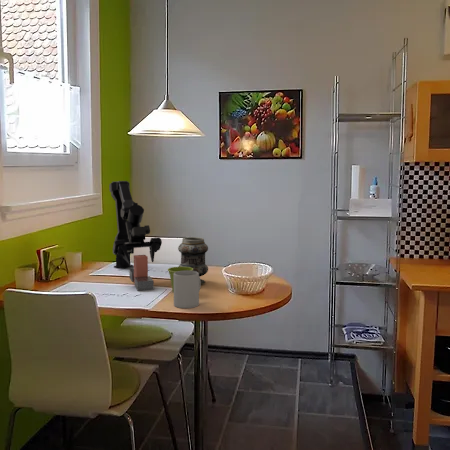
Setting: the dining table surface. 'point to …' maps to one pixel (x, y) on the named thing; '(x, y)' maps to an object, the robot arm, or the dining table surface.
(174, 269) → the plant pot
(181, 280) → the mug
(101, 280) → the dining table surface
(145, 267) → the pink rectangular block
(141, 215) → the robot arm
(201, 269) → the apothecary jar
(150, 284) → the gray block
